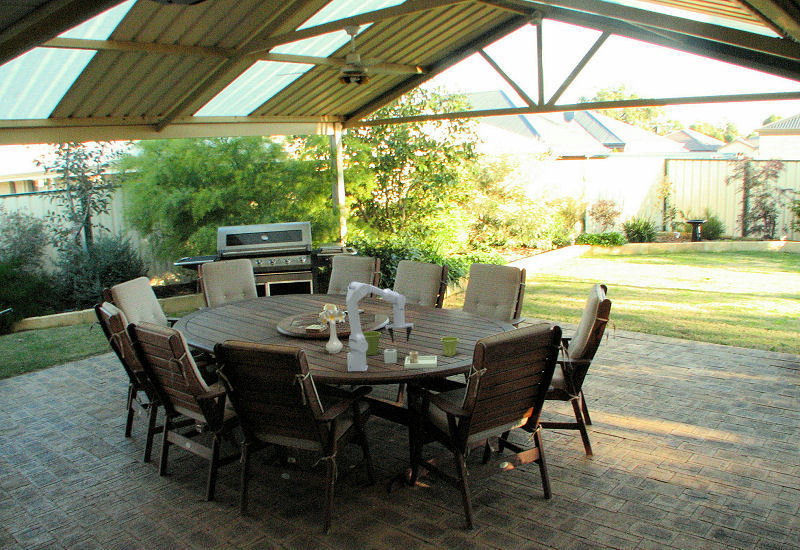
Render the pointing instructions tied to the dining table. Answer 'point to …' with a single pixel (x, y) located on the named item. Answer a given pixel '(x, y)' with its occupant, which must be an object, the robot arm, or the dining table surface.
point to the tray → (422, 362)
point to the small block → (413, 357)
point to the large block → (390, 355)
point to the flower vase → (332, 329)
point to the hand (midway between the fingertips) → (400, 341)
